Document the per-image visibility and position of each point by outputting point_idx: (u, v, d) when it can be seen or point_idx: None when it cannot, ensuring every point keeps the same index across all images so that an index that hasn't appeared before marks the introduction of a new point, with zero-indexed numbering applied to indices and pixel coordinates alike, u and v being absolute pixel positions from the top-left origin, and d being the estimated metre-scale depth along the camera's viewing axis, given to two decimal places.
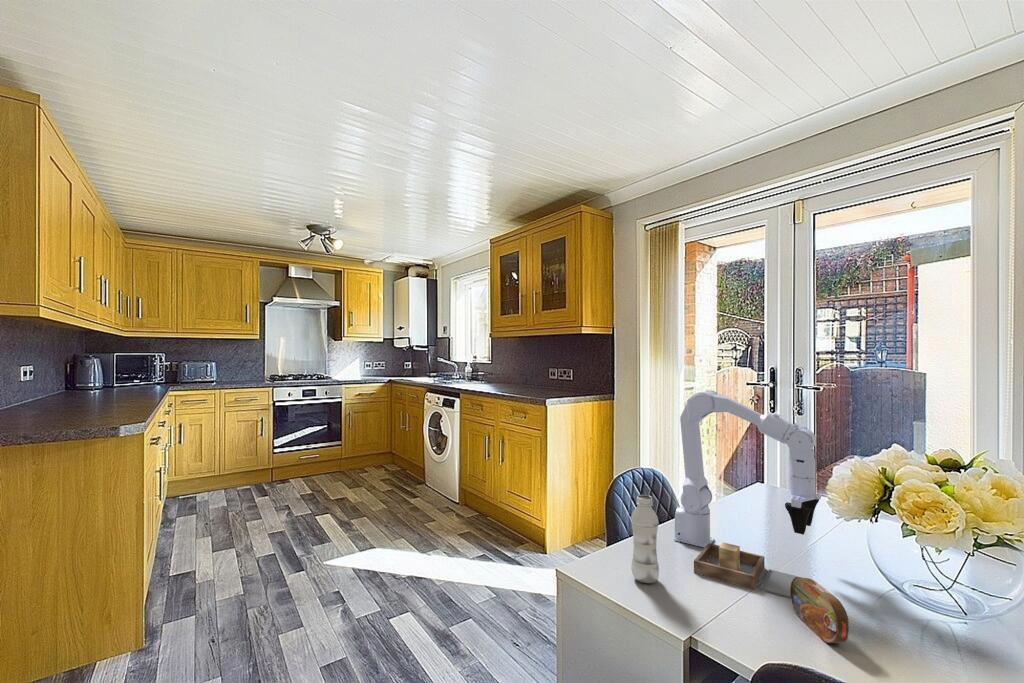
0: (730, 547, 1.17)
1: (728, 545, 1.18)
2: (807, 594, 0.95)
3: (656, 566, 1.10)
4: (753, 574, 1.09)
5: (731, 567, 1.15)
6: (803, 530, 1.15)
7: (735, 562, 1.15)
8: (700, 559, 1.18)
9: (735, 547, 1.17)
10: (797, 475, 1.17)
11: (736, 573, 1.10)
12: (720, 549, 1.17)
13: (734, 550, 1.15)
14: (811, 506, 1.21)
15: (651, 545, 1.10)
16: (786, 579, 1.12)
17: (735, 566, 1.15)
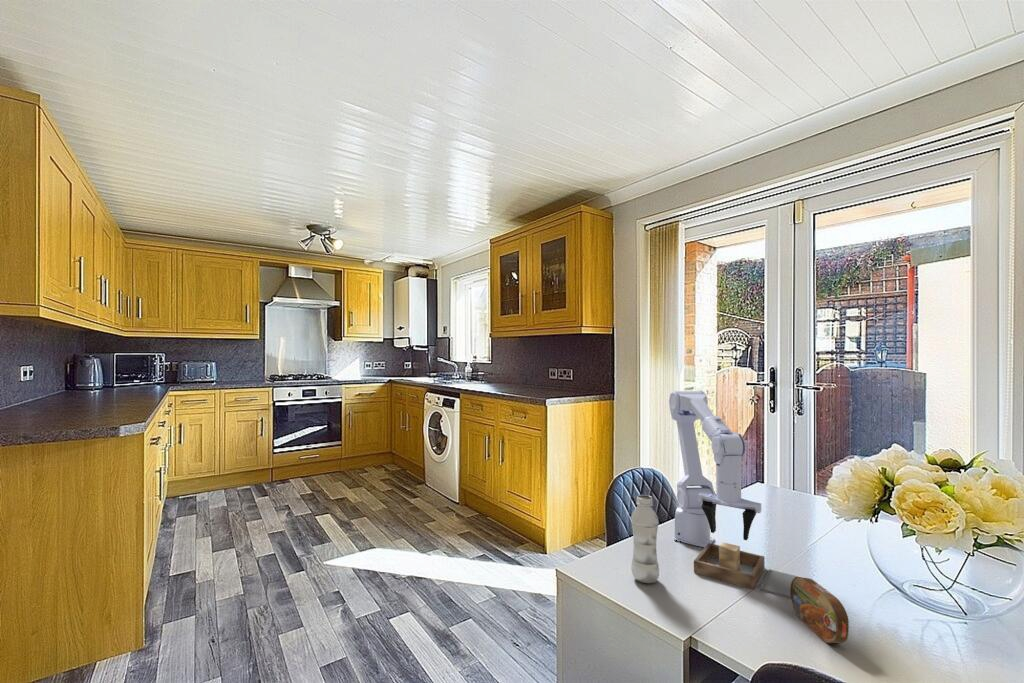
0: (730, 547, 1.17)
1: (728, 545, 1.18)
2: (807, 594, 0.95)
3: (656, 566, 1.10)
4: (753, 574, 1.09)
5: (731, 567, 1.15)
6: None
7: (735, 562, 1.15)
8: (700, 559, 1.18)
9: (735, 547, 1.17)
10: (716, 478, 1.18)
11: (736, 573, 1.10)
12: (720, 549, 1.17)
13: (734, 550, 1.15)
14: None
15: (651, 545, 1.10)
16: (786, 579, 1.12)
17: (735, 566, 1.15)
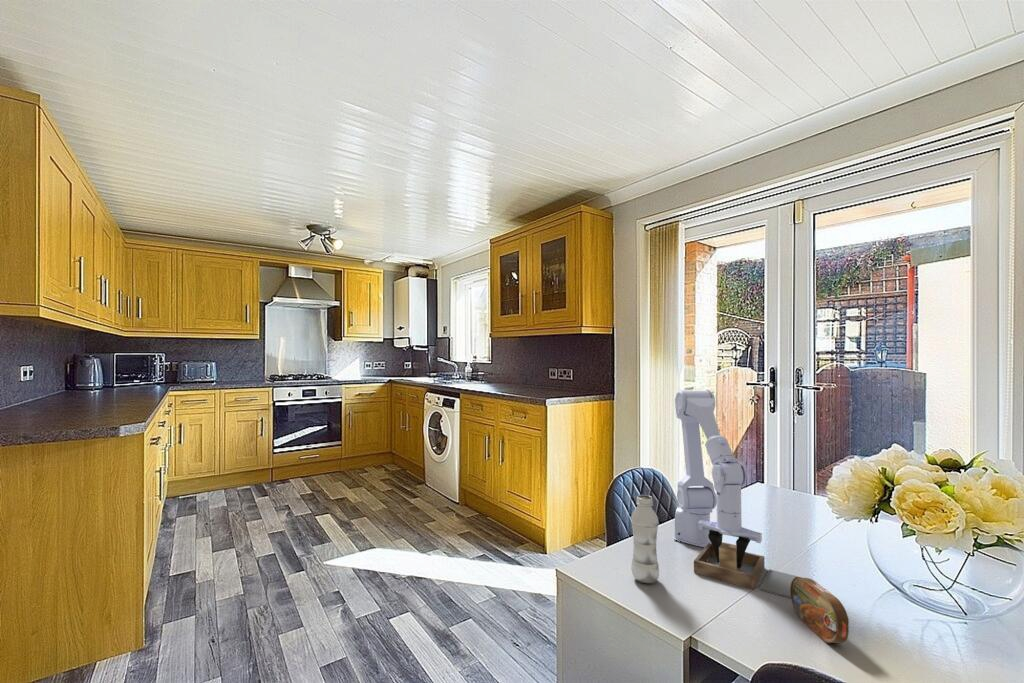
0: (730, 547, 1.17)
1: (728, 545, 1.18)
2: (807, 594, 0.95)
3: (656, 566, 1.10)
4: (753, 574, 1.09)
5: (731, 567, 1.15)
6: None
7: (735, 562, 1.15)
8: (700, 559, 1.18)
9: (735, 547, 1.17)
10: (717, 507, 1.18)
11: (736, 573, 1.10)
12: (720, 549, 1.17)
13: (734, 550, 1.15)
14: None
15: (651, 545, 1.10)
16: (786, 579, 1.12)
17: (735, 566, 1.15)
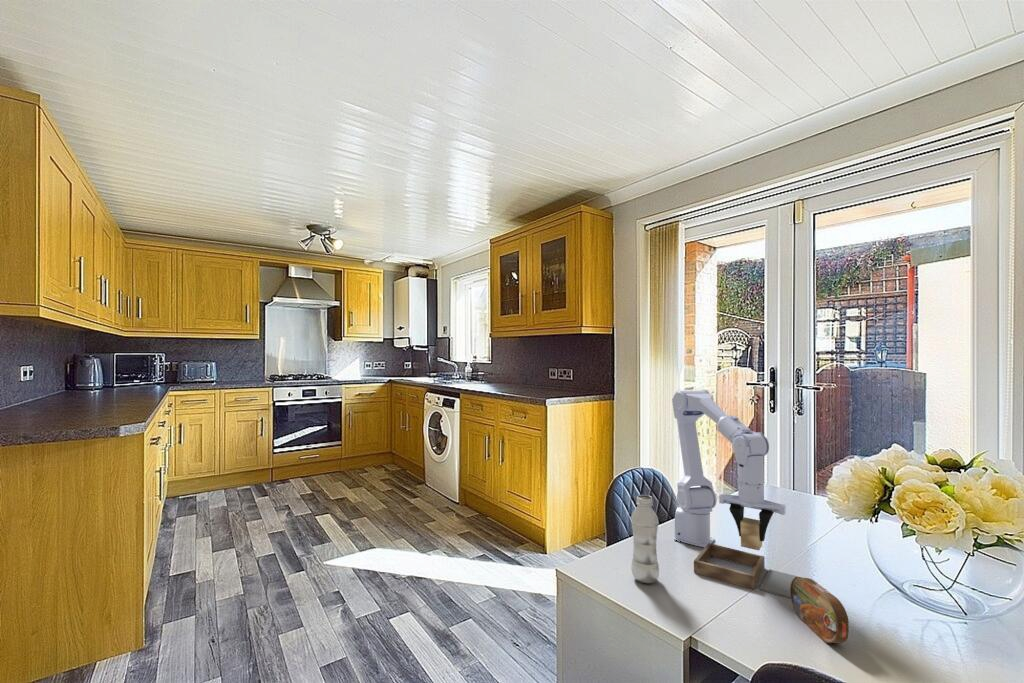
0: (752, 521, 1.14)
1: (750, 520, 1.15)
2: (807, 594, 0.95)
3: (656, 566, 1.10)
4: (753, 574, 1.09)
5: (753, 541, 1.12)
6: None
7: (758, 536, 1.11)
8: (700, 559, 1.18)
9: (757, 522, 1.13)
10: (739, 480, 1.15)
11: (736, 573, 1.10)
12: (742, 523, 1.14)
13: (756, 524, 1.12)
14: (760, 520, 1.12)
15: (651, 545, 1.10)
16: (786, 579, 1.12)
17: (758, 540, 1.11)
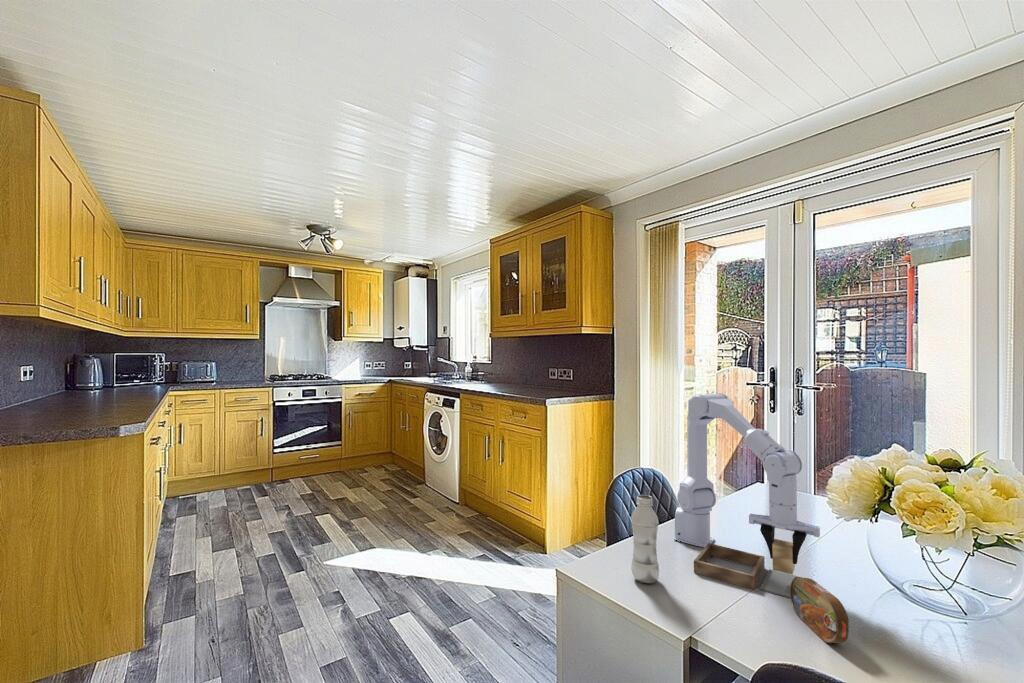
0: (784, 544, 1.09)
1: (781, 542, 1.11)
2: (807, 594, 0.95)
3: (656, 566, 1.10)
4: (753, 574, 1.09)
5: (786, 565, 1.08)
6: None
7: (791, 560, 1.07)
8: (700, 559, 1.18)
9: (790, 544, 1.09)
10: (772, 500, 1.10)
11: (736, 573, 1.10)
12: (774, 546, 1.09)
13: (789, 547, 1.08)
14: (793, 542, 1.08)
15: (651, 545, 1.10)
16: (786, 579, 1.12)
17: (791, 564, 1.07)
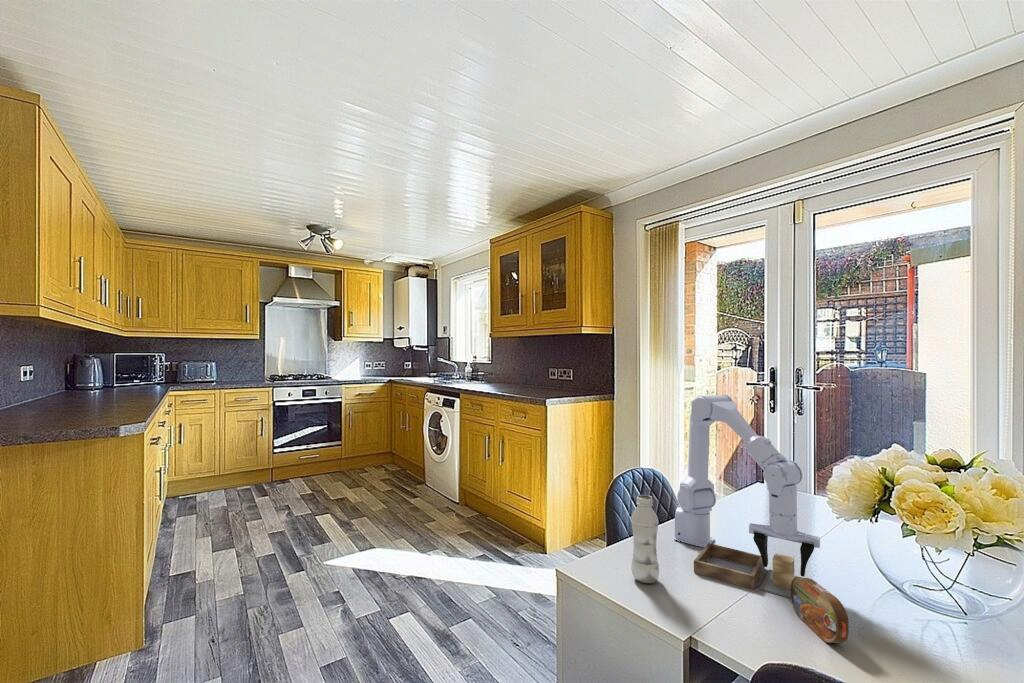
0: (784, 559, 1.09)
1: (782, 556, 1.11)
2: (807, 594, 0.95)
3: (656, 566, 1.10)
4: (753, 574, 1.09)
5: (786, 580, 1.08)
6: None
7: (791, 575, 1.07)
8: (700, 559, 1.18)
9: (790, 559, 1.09)
10: (772, 510, 1.10)
11: (736, 573, 1.10)
12: (774, 561, 1.09)
13: (789, 562, 1.08)
14: (801, 554, 1.07)
15: (651, 545, 1.10)
16: None
17: (791, 579, 1.07)
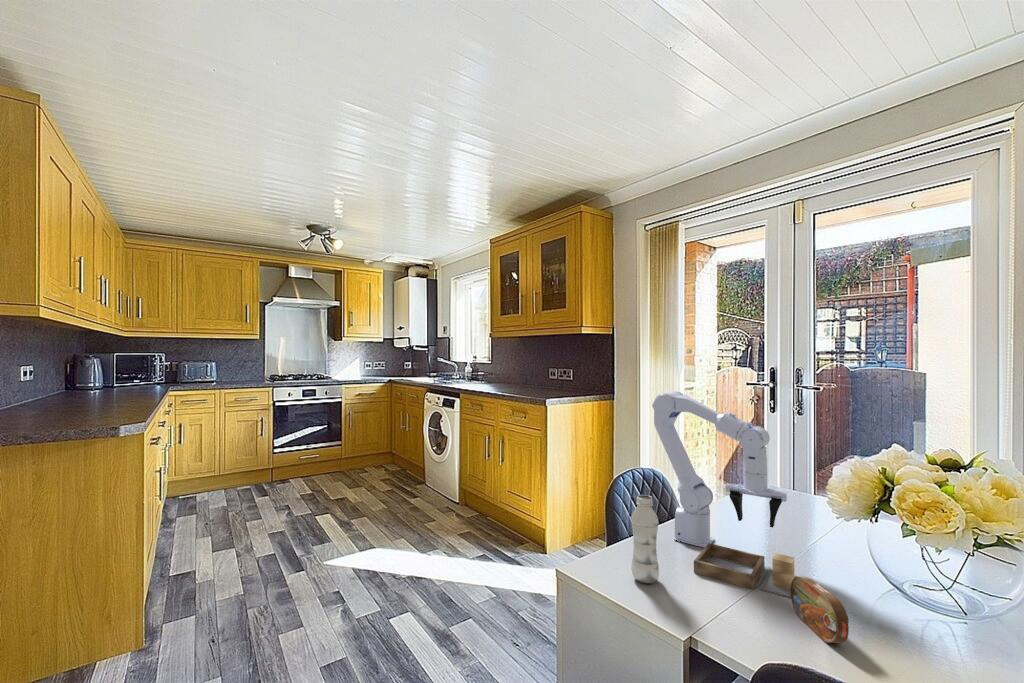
0: (784, 559, 1.09)
1: (782, 556, 1.11)
2: (807, 594, 0.95)
3: (656, 566, 1.10)
4: (753, 574, 1.09)
5: (786, 580, 1.08)
6: None
7: (791, 575, 1.07)
8: (700, 559, 1.18)
9: (790, 559, 1.09)
10: (749, 471, 1.23)
11: (736, 573, 1.10)
12: (774, 561, 1.09)
13: (789, 562, 1.08)
14: (770, 508, 1.21)
15: (651, 545, 1.10)
16: None
17: (791, 579, 1.07)
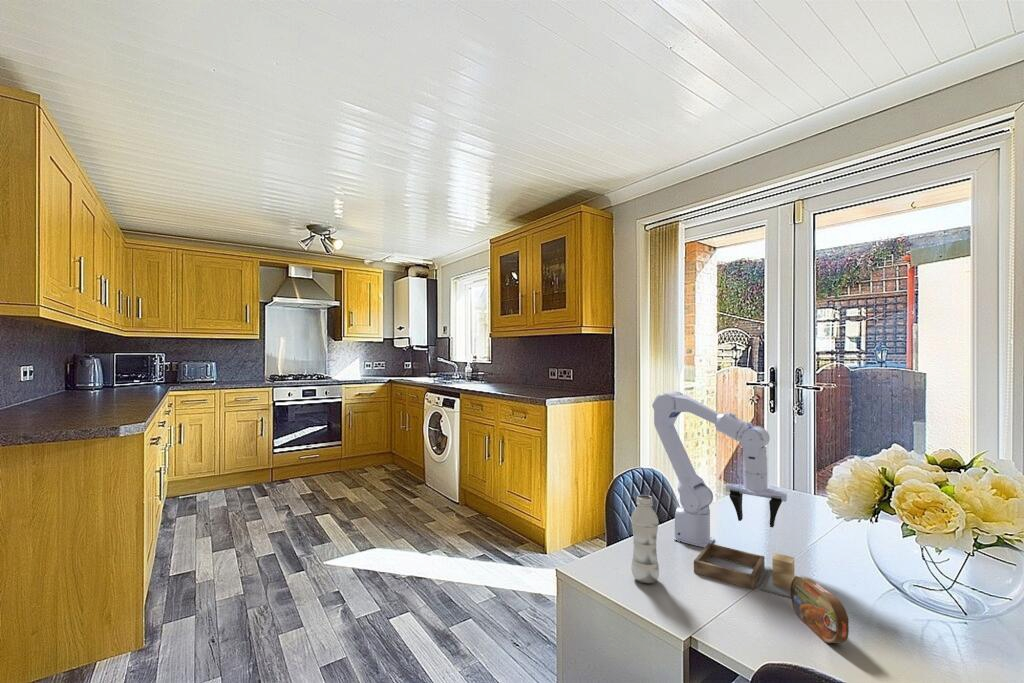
0: (784, 559, 1.09)
1: (782, 556, 1.11)
2: (807, 594, 0.95)
3: (656, 566, 1.10)
4: (753, 574, 1.09)
5: (786, 580, 1.08)
6: None
7: (791, 575, 1.07)
8: (700, 559, 1.18)
9: (790, 559, 1.09)
10: (749, 471, 1.23)
11: (736, 573, 1.10)
12: (774, 561, 1.09)
13: (789, 562, 1.08)
14: (770, 508, 1.21)
15: (651, 545, 1.10)
16: None
17: (791, 579, 1.07)
